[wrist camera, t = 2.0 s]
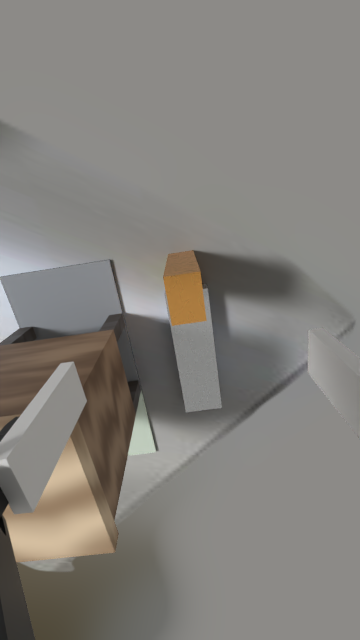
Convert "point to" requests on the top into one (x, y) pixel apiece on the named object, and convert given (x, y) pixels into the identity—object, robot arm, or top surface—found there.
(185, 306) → the brown piece
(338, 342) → the robot arm
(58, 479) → the cabinet
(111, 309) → the mat
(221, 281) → the top surface
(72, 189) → the top surface
